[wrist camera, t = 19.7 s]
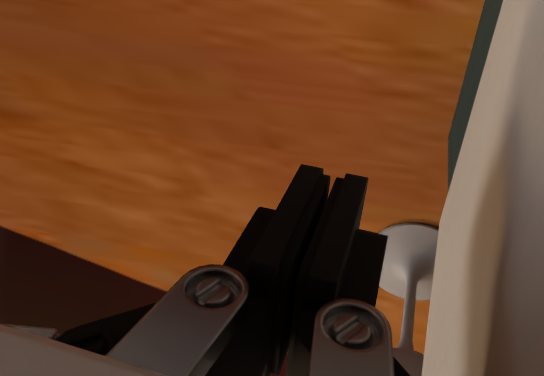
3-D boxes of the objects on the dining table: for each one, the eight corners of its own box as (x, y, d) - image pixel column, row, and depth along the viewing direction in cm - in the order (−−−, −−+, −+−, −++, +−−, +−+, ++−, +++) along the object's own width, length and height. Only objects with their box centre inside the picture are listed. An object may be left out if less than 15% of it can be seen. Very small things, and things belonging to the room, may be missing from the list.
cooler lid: (928, -11, 3) (763, -26, 3) (424, 701, 10) (385, 682, 10) (556, -96, 17) (531, -98, 17) (456, 226, 24) (439, 222, 24)
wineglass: (489, 270, 37) (525, 608, 20) (410, 314, 41) (382, 624, 24) (417, 202, 36) (389, 496, 19) (343, 254, 40) (264, 534, 23)
